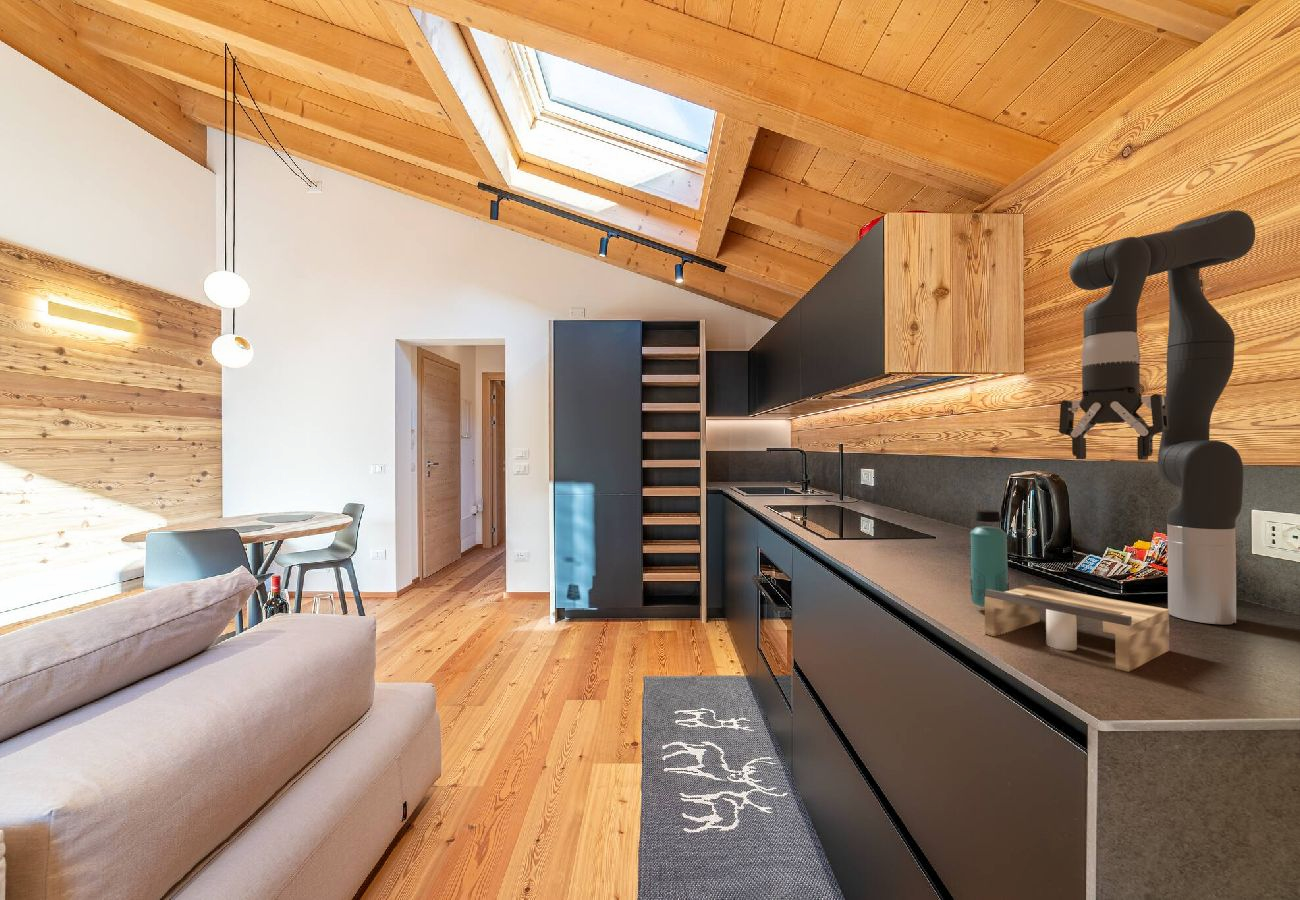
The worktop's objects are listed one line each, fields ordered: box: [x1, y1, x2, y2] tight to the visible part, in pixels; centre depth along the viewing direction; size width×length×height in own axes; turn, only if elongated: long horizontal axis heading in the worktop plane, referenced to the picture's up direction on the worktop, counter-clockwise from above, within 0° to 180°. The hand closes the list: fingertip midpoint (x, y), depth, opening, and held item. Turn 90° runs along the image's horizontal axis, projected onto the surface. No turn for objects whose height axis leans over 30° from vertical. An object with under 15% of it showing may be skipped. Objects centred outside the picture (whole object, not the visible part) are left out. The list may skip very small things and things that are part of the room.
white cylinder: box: [1045, 609, 1078, 652], centre depth 93 cm, size 4×4×6 cm
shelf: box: [984, 584, 1170, 673], centre depth 95 cm, size 16×20×8 cm
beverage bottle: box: [969, 509, 1010, 608], centre depth 113 cm, size 6×7×20 cm
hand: (1110, 459), depth 96 cm, fingers open, 8 cm apart
